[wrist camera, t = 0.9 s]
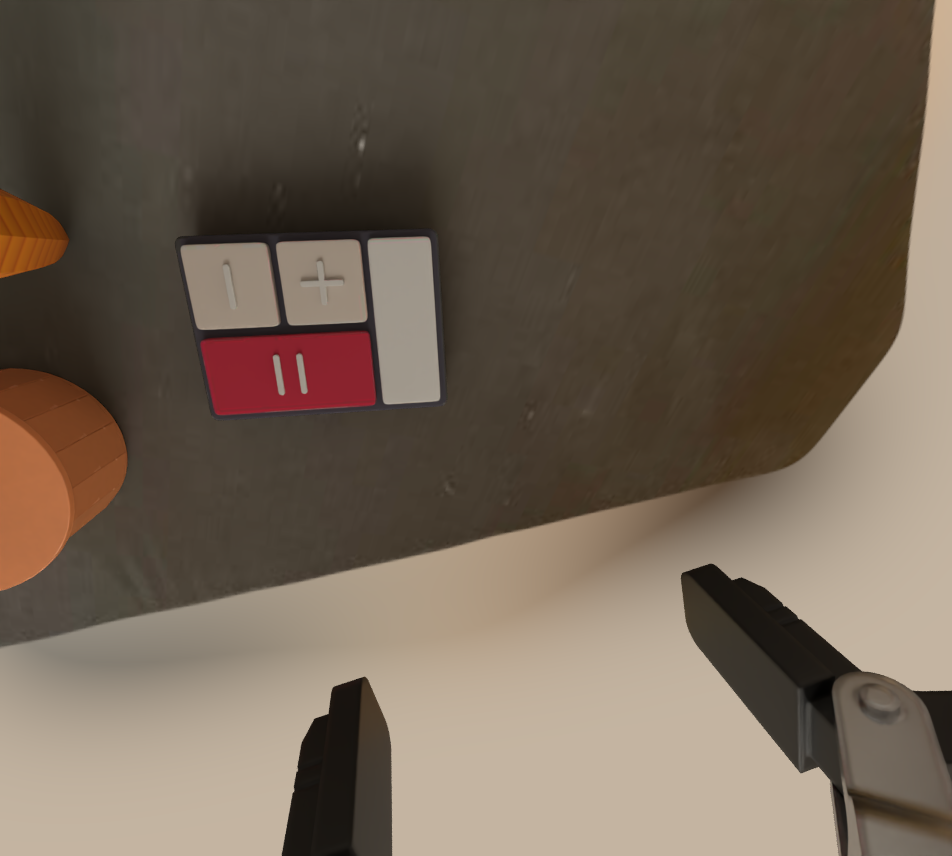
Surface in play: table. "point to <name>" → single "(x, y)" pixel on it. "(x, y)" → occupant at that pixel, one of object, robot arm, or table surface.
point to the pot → (70, 435)
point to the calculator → (316, 321)
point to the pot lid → (30, 502)
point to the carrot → (27, 236)
